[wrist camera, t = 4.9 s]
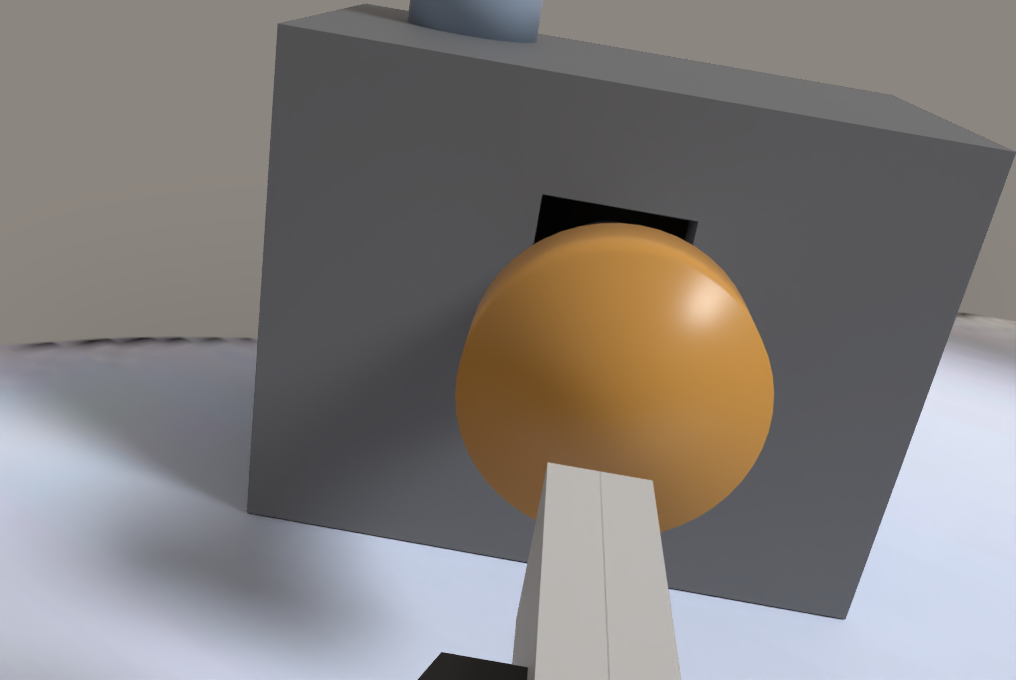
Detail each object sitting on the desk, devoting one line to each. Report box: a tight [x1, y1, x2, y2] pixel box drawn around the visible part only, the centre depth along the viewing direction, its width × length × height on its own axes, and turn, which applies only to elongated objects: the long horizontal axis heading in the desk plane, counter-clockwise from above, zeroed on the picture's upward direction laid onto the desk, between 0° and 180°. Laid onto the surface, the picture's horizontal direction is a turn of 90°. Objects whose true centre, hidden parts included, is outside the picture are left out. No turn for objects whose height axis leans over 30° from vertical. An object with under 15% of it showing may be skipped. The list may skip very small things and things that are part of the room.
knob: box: [455, 221, 774, 532], centre depth 22 cm, size 6×8×6 cm
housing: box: [247, 4, 1016, 619], centre depth 30 cm, size 18×10×14 cm, turn 86°
